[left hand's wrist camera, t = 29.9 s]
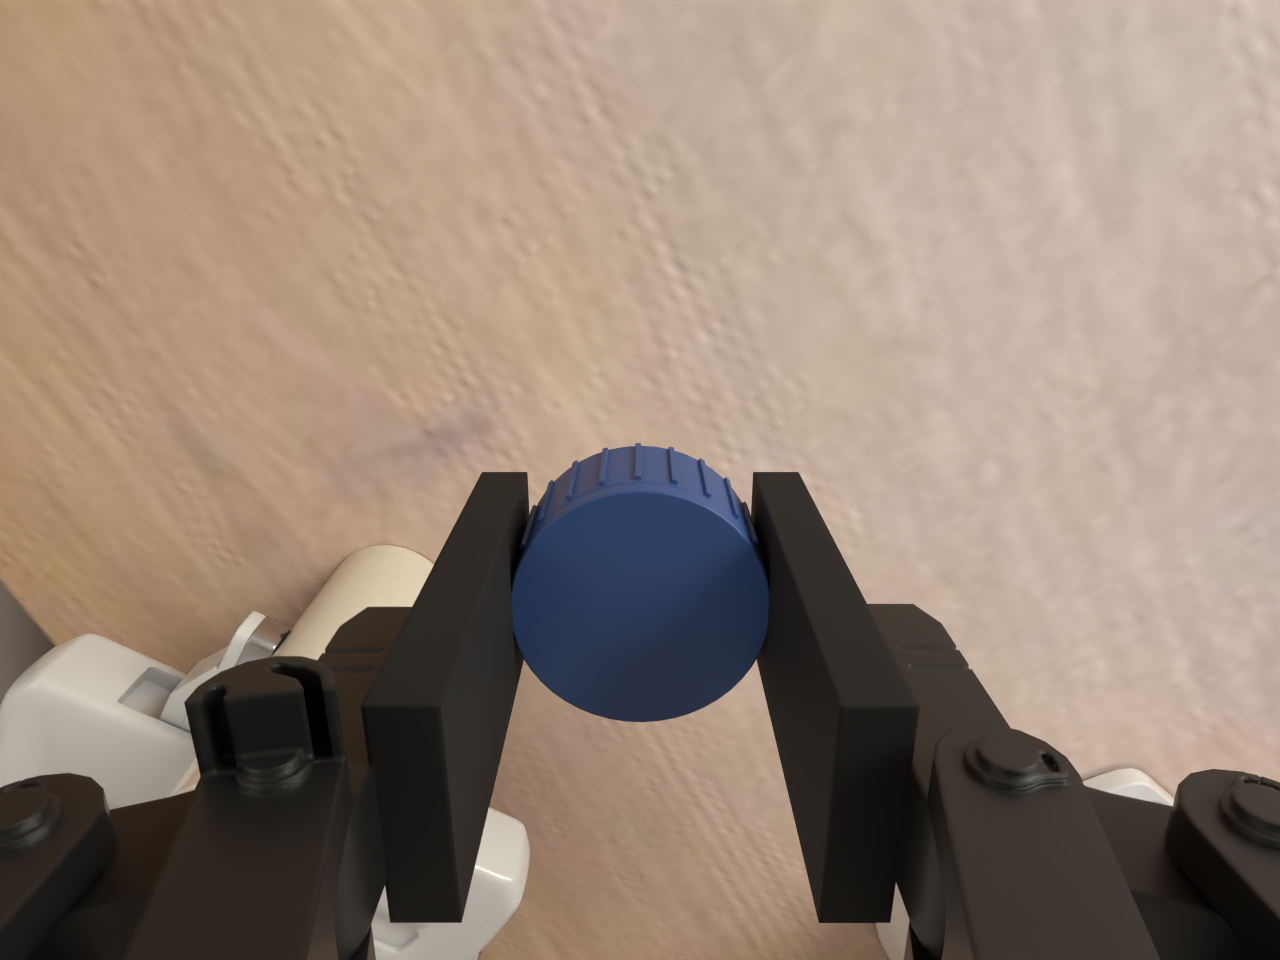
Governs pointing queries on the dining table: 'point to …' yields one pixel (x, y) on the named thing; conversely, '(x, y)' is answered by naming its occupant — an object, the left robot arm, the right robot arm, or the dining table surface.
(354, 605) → the bottle
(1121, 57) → the dining table surface
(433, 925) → the right robot arm
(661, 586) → the cap
